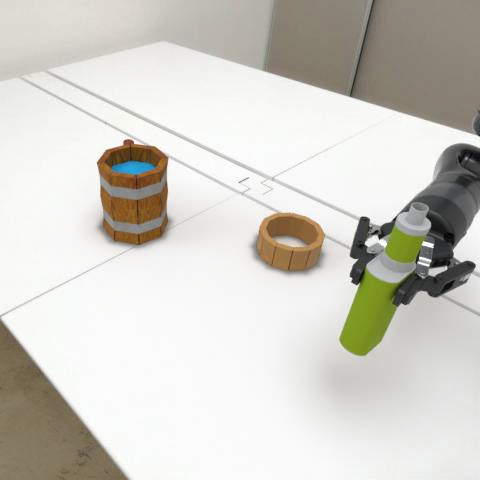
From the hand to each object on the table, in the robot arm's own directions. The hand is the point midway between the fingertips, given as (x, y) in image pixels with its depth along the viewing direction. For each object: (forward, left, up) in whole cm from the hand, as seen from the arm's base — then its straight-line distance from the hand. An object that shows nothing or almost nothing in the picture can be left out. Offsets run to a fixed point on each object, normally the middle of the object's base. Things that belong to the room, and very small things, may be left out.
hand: (376, 288), depth 50 cm
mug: (+45, -26, -22) cm, 57 cm away
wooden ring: (+13, -29, -22) cm, 39 cm away
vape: (-1, -3, -11) cm, 12 cm away
